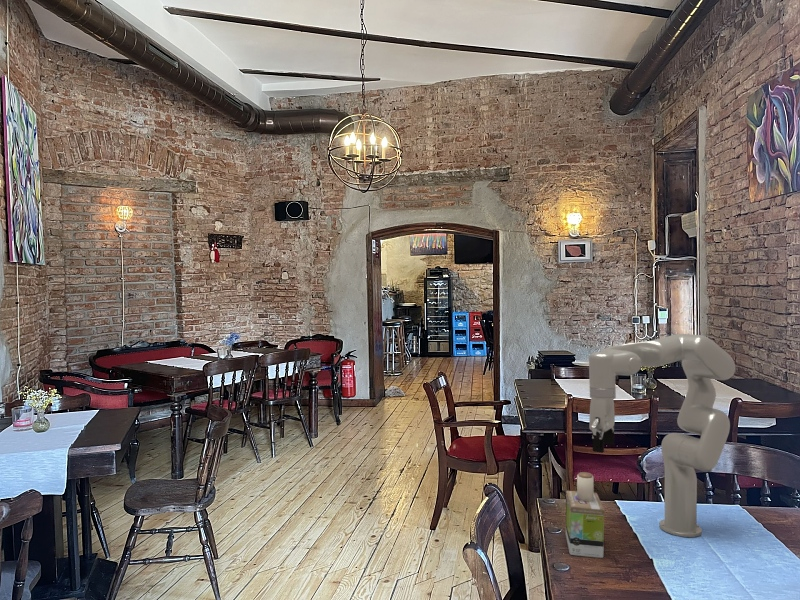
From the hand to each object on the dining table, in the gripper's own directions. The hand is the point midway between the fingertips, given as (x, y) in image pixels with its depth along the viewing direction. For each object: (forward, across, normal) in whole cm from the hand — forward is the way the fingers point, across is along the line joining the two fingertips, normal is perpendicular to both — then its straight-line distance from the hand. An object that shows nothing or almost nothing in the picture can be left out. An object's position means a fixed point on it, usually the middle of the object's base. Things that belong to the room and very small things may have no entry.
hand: (603, 448), depth 172 cm
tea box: (+31, +4, -5) cm, 31 cm away
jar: (+16, +3, -5) cm, 17 cm away
